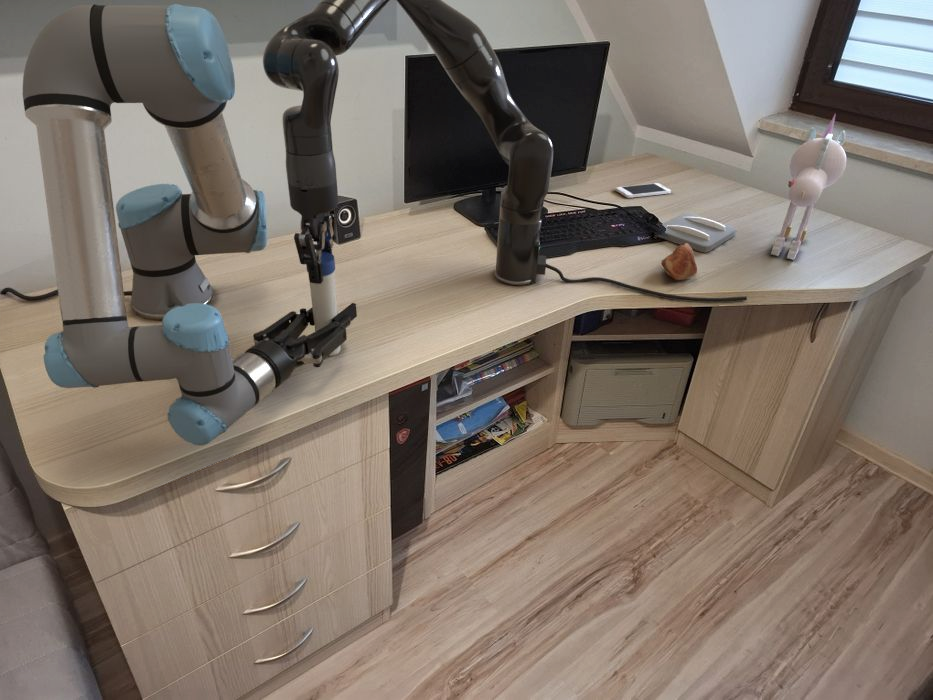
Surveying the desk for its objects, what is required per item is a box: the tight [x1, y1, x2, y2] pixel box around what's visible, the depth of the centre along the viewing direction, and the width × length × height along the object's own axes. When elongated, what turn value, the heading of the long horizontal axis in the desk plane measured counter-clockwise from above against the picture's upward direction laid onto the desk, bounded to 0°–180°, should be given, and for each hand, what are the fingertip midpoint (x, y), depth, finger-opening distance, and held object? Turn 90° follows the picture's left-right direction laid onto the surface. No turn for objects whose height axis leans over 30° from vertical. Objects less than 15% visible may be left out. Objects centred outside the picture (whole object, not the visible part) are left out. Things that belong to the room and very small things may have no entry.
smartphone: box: [615, 182, 672, 199], centre depth 194 cm, size 7×16×1 cm, turn 111°
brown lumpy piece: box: [660, 243, 698, 281], centre depth 146 cm, size 13×8×10 cm
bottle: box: [309, 271, 342, 357], centre depth 113 cm, size 4×4×18 cm
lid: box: [305, 252, 336, 275], centre depth 108 cm, size 5×5×2 cm
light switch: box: [654, 212, 737, 253], centre depth 167 cm, size 18×3×15 cm
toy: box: [770, 112, 847, 261], centre depth 159 cm, size 12×36×30 cm, turn 148°
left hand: (343, 306), depth 118 cm, fingers closed on bottle, 4 cm apart
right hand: (321, 274), depth 109 cm, fingers closed on lid, 4 cm apart
